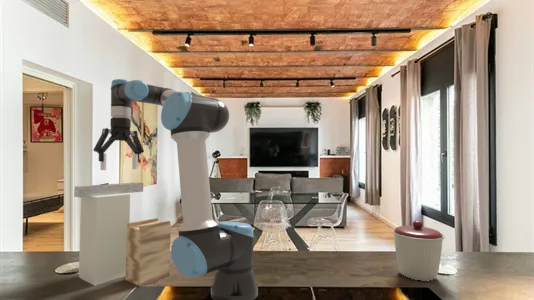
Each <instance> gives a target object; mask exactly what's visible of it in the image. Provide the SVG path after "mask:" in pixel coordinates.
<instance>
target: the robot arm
mask: <svg viewBox="0 0 534 300" xmlns="http://www.w3.org/2000/svg"><path fill="white" fill-rule="evenodd" d="M133 102H138V103H144V104H151V105H158V106H161V107H162V108H161V113H160V114H161V115H160V118H161V119H160V121H161V125H162V126H163V127H164V128H165V129H166V130H168V131H169V132H170V138H171V139H172V140H173V141H174V142H175V143H176V150H177V162H178V163H177V164H178V172H179V173H178V174H179V186H180V187H179V188H180V199H181V200H180V202H181V210H182V224H181V225H180V226H179V228H178V230H177V231H178V236H177V237H176V238H175V239H174V240H173V241H172V243H171V244H172V245H170V256H171V258H172V262H173V264H174V266H175V269H176V270H177V271H178V273H180V274H181V275H182V276H183V277H185V278H189V279H193V278H196V277H203V276H205V275H206V274H207V275H208V274H209V273H212V272H214V271H216V272H215V275H214V279H213V281H212V284H211V287H210V297H211V299H212V300H255V299H256V298H257V297H258V296H259V295H258V294H259V287H258V284H257V281H256V278H255V273H254V270H253V269H254V266H253V265H254V239H255V237H254V229H253V226H252V225H251V224H249V223H245V222H239V221H226V220H225V221H219V222H218V221H216V220H214V218H213V217H214V216H213V207H212V206H213V205H212V195H211V187H210V176H209V165H208V164H209V163H208V154H207V153H208V152H207V144H206V141H207V139H208V138H209V137H210V135H211V134H213V133H218V132H220V131H221V130H223V129H224V128H225V127H226V125H228V122H229V119H230V112H229V108H228V106H227V105H226V104H225V103H224V101H222V100H220V99H218V98H216V97H210V96H205V95H199V94H195V93H191V92H187V91H186V92H185V91H176V90H175V89H172V88H168V87H163V86H158V85H152V84H148V83H146V82H144V81H143V80H140V79H134V80H127V79H121V78H118V79H117V78H116V79H113V80H112V81H111V87H110V116H111V117H110V129H109V128H108V127H107V128H106V127H105V128H102V131H101V135H100V136H99V138H98V140H97V142H96V144H95V146H94V148H93V152H96V153H97V154H98V162H100V171H106V170H107V153H105V152H107V150H108V149H109V148H110V146H111V145H112V144H113V143H114V142H116V141H121V142H125V143H126V144H127V145H128V146H129V148H130V149H131V150H132V152H133V153H132V159H131V161H132V167H131V169H132V170H138V169H139V166H138V165H139V162H140V155H141V154H142V153H144V151H145V150H144V147H143V145H142V144H141V141H140V138H139V136H138V130H131V127H132V124H131V123H132V121H131V120H132V119H130V118H131V117H132V103H133ZM210 133H211V134H210ZM109 134H110V136H109V138H108V135H109ZM107 138H108V140H107ZM106 140H107V141H106Z"/></svg>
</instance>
